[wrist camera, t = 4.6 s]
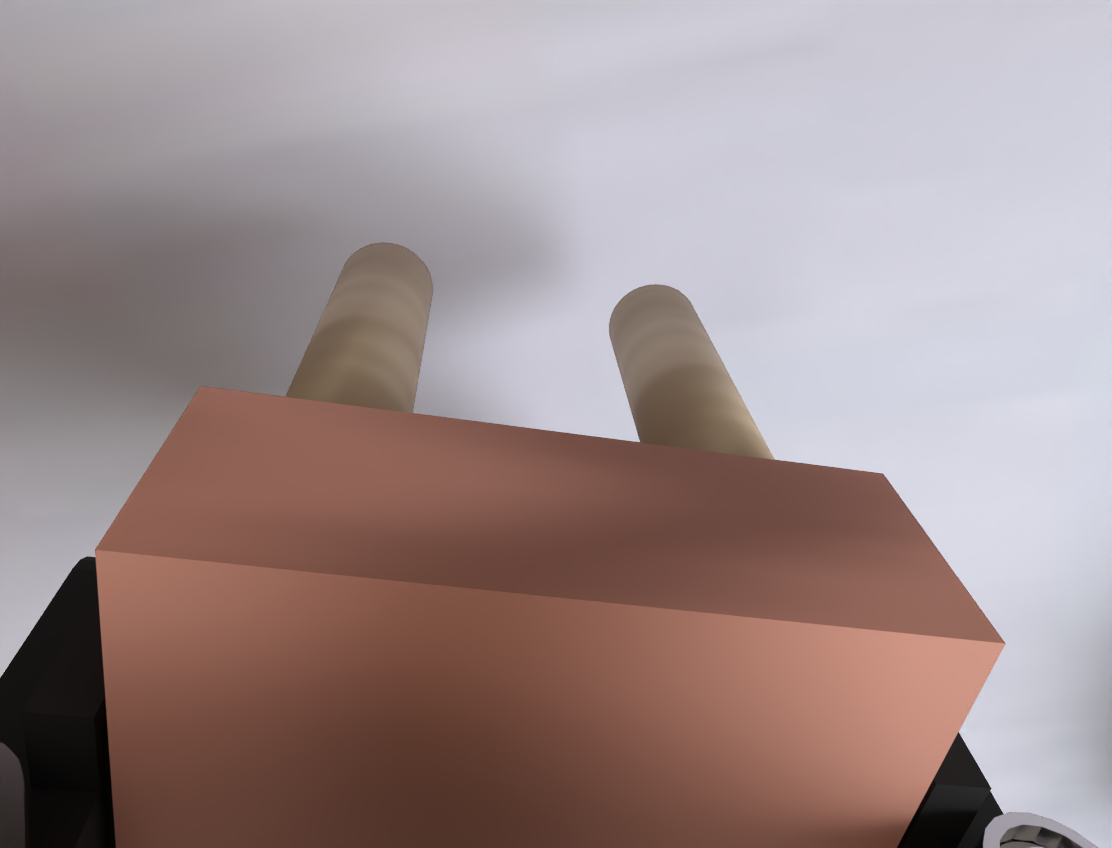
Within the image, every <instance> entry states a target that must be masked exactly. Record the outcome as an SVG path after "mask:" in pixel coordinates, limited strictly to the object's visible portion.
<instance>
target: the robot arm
mask: <svg viewBox="0 0 1112 848" xmlns="http://www.w3.org/2000/svg"><path fill="white" fill-rule="evenodd" d="M990 790H991V787H990V785H989V784H988V782H987V780H986V779H985V777H984V775H983V773H982V772H981V770H980V768H979V767H978V765H977V763H976V761H975V760H974V758H973V756H972V754H971V753H970V751H969V749H968V748H967V746H966V744H965V742H964V741H963V739H962V737H961V736H960V734H959V732H958V734H957V736H956V737H955V739H954V741H953V743H952V745H951V747H950V749H949V751H948V752H947V754H946V756H945V758H944V760H943V762H942V764H941V766H940V767H939V769H938V771H937V773H936V775H935V777H934V779H933V781H932V782H931V784H930V786H929V788H928V790H927V792H926V794H925V796H924V797H923V799H922V801H921V803H920V805H919V807H918V809H917V811H916V812H915V814H914V816H913V818H912V820H911V822H910V824H909V826H908V828H907V829H906V831H905V833H904V835H903V837H902V839H901V841H900V843H899V844H898V846H897V848H1098V847H1097V846H1095V845H1094V844H1093V843H1091V842H1090V841H1088V840H1087V839H1086V838H1084V837H1083V836H1081V835H1080V834H1078V833H1077V832H1076V831H1074V830H1072V829H1070V828H1068V827H1066V826H1064V825H1062V824H1060V823H1058V822H1056V821H1054V820H1052V819H1049V818H1046V817H1042V816H1039V815H1035V814H1031V813H1020V812H1009V813H1006V814H1003V812H1002V811H1001V809H1000V807H999V805H998V804H997V802H996V800H995V799H994V797H993V795H992V793H991V792H990ZM0 848H116V841H115V827H114V812H113V798H112V784H111V770H110V755H109V741H108V727H107V713H106V698H105V684H104V670H103V656H102V641H101V627H100V613H99V599H98V584H97V570H96V557H88V556H87V557H85V558H83V559H81V560H80V561H79V562H78V563H77V564H76V565H75V566H74V568H73V569H72V570H71V572H70V573H69V575H68V577H67V578H66V580H65V581H64V583H63V584H62V586H61V587H60V589H59V590H58V592H57V593H56V595H55V596H54V598H53V599H52V601H51V602H50V604H49V605H48V607H47V608H46V610H45V611H44V613H43V614H42V616H41V617H40V619H39V620H38V622H37V623H36V625H35V626H34V628H33V629H32V631H31V633H30V634H29V636H28V637H27V639H26V640H25V642H24V643H23V645H22V646H21V648H20V649H19V651H18V652H17V654H16V655H15V657H14V658H13V660H12V661H11V663H10V664H9V666H8V667H7V669H6V670H5V672H4V673H3V675H2V676H1V678H0Z"/></svg>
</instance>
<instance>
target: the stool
mask: <svg viewBox="0 0 1112 848" xmlns="http://www.w3.org/2000/svg"><path fill="white" fill-rule="evenodd" d="M432 294H433V284H432V279H431V276H430V273H429V271H428V269H427V267H426V265H425V264H424V262H423V261H422V260H421V259H420V258H419V257H418V256H417V255H416V254H415V253H413V252H412V251H410V250H409V249H407V248H405V247H403V246H400V245H397V244H392V243H375V244H371V245H367V246H365V247H363V248H361V249H359V250H358V251H356V252H355V253H354V254H353V255H352V256H351V257H350V258H349V259H348V260H347V262H346V263H345V265H344V267H343V270H342V272H341V274H340V276H339V279H338V281H337V283H336V285H335V288H334V290H333V292H332V294H331V297H330V299H329V301H328V303H327V305H326V308H325V310H324V312H323V314H322V317H321V319H320V321H319V323H318V326H317V328H316V330H315V332H314V335H313V337H312V339H311V341H310V343H309V346H308V348H307V350H306V352H305V355H304V357H303V359H302V361H301V364H300V366H299V368H298V370H297V373H296V375H295V377H294V379H293V381H292V384H291V386H290V388H289V390H288V393H287V395H286V397H282V396H275V395H267V394H259V393H251V392H243V391H236V390H228V389H220V388H212V387H204V386H200V388H199V390H198V391H197V393H196V394H195V396H194V397H193V399H192V400H191V402H190V403H189V405H188V407H187V408H186V410H185V411H184V413H183V414H182V416H181V417H180V419H179V421H178V422H177V424H176V425H175V427H174V428H173V430H172V431H171V433H170V434H169V436H168V438H167V439H166V441H165V442H164V444H163V445H162V447H161V448H160V450H159V452H158V453H157V455H156V456H155V458H154V459H153V461H152V462H151V464H150V465H149V467H148V469H147V470H146V472H145V473H144V475H143V476H142V478H141V479H140V481H139V483H138V484H137V486H136V487H135V489H134V490H133V492H132V493H131V495H130V497H129V498H128V500H127V501H126V503H125V504H124V506H123V507H122V509H121V510H120V512H119V514H118V515H117V517H116V518H115V520H114V521H113V523H112V524H111V526H110V528H109V529H108V531H107V532H106V534H105V535H104V537H103V538H102V540H101V541H100V543H99V545H98V546H97V548H96V549H95V556H96V570H97V584H98V599H99V613H100V627H101V641H102V656H103V670H104V684H105V698H106V713H107V727H108V741H109V755H110V770H111V784H112V798H113V812H114V827H115V841H116V848H897V846H898V844H899V843H900V841H901V839H902V837H903V835H904V833H905V831H906V829H907V828H908V826H909V824H910V822H911V820H912V818H913V816H914V814H915V812H916V811H917V809H918V807H919V805H920V803H921V801H922V799H923V797H924V796H925V794H926V792H927V790H928V788H929V786H930V784H931V782H932V781H933V779H934V777H935V775H936V773H937V771H938V769H939V767H940V766H941V764H942V762H943V760H944V758H945V756H946V754H947V752H948V751H949V749H950V747H951V745H952V743H953V741H954V739H955V737H956V736H957V734H958V732H959V730H960V728H961V726H962V724H963V722H964V721H965V719H966V717H967V715H968V713H969V711H970V709H971V707H972V706H973V704H974V702H975V700H976V698H977V696H978V694H979V692H980V691H981V689H982V687H983V685H984V683H985V681H986V679H987V677H988V676H989V674H990V672H991V670H992V668H993V666H994V664H995V662H996V661H997V659H998V657H999V655H1000V653H1001V651H1002V649H1003V647H1004V646H1005V642H1004V641H1003V639H1002V638H1001V637H1000V635H999V634H998V633H997V631H996V630H995V628H994V627H993V626H992V624H991V623H990V621H989V620H988V619H987V617H986V616H985V614H984V613H983V612H982V610H981V609H980V608H979V606H978V605H977V603H976V602H975V601H974V599H973V598H972V596H971V595H970V594H969V592H968V591H967V590H966V588H965V587H964V585H963V584H962V583H961V581H960V580H959V578H958V577H957V576H956V574H955V573H954V571H953V570H952V569H951V567H950V566H949V565H948V563H947V562H946V560H945V559H944V558H943V556H942V555H941V553H940V552H939V551H938V549H937V548H936V546H935V545H934V544H933V542H932V541H931V540H930V538H929V537H928V535H927V534H926V533H925V531H924V530H923V528H922V527H921V526H920V524H919V523H918V521H917V520H916V519H915V517H914V516H913V515H912V513H911V512H910V510H909V509H908V508H907V506H906V505H905V503H904V502H903V501H902V499H901V498H900V496H899V495H898V494H897V492H896V491H895V490H894V488H893V487H892V485H891V484H890V483H889V481H888V480H887V478H886V477H885V476H884V474H882V473H874V472H866V471H858V470H850V469H843V468H835V467H827V466H819V465H812V464H804V463H796V462H788V461H780V460H774V458H773V456H772V454H771V452H770V450H769V448H768V446H767V445H766V443H765V441H764V439H763V437H762V435H761V433H760V431H759V430H758V428H757V426H756V424H755V422H754V420H753V418H752V416H751V415H750V413H749V411H748V409H747V407H746V405H745V403H744V401H743V400H742V398H741V396H740V394H739V392H738V390H737V388H736V386H735V385H734V383H733V381H732V379H731V377H730V375H729V373H728V371H727V370H726V368H725V366H724V364H723V362H722V360H721V358H720V356H719V355H718V353H717V351H716V349H715V347H714V345H713V343H712V341H711V340H710V338H709V336H708V334H707V332H706V330H705V328H704V326H703V325H702V323H701V321H700V319H699V317H698V315H697V313H696V312H695V310H694V308H693V306H692V304H691V302H690V301H689V300H688V298H687V297H686V296H685V295H684V294H682V293H681V292H680V291H678V290H676V289H674V288H672V287H669V286H665V285H647V286H643V287H639V288H637V289H635V290H633V291H631V292H629V293H628V294H627V295H625V296H624V297H623V298H622V299H621V300H620V301H619V303H618V304H617V305H616V307H615V308H614V310H613V312H612V315H611V318H610V322H609V335H610V339H611V343H612V346H613V349H614V353H615V356H616V360H617V363H618V367H619V370H620V374H621V377H622V381H623V384H624V388H625V391H626V395H627V398H628V401H629V405H630V408H631V412H632V415H633V419H634V422H635V426H636V429H637V433H638V436H639V440H640V442H633V441H625V440H617V439H609V438H601V437H594V436H586V435H578V434H570V433H562V432H555V431H547V430H539V429H531V428H524V427H516V426H508V425H500V424H492V423H485V422H477V421H469V420H461V419H454V418H446V417H438V416H430V415H422V414H415V413H413V408H414V402H415V396H416V390H417V384H418V378H419V372H420V366H421V360H422V354H423V348H424V342H425V336H426V330H427V324H428V318H429V312H430V306H431V300H432Z"/></svg>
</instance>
